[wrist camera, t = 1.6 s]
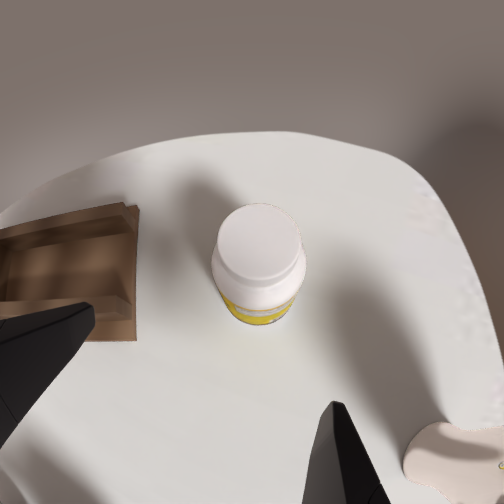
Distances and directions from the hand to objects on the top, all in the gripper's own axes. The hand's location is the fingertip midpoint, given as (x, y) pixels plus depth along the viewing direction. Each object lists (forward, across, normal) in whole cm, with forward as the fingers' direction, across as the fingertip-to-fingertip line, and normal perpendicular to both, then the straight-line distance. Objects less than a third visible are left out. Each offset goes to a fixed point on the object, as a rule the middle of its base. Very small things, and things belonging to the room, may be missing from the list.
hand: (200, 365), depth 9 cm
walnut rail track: (+9, +18, +8) cm, 22 cm away
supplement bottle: (+13, 0, +4) cm, 14 cm away
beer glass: (+6, -19, +11) cm, 23 cm away
